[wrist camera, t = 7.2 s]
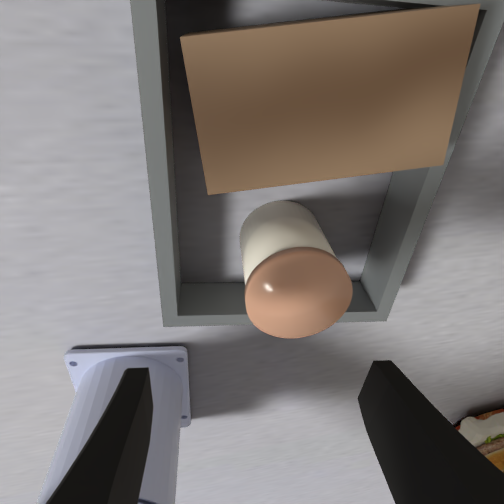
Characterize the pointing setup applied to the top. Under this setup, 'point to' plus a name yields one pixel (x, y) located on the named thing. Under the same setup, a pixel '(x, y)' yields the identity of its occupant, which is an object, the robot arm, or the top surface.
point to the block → (327, 95)
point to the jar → (291, 272)
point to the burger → (486, 435)
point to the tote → (393, 211)
